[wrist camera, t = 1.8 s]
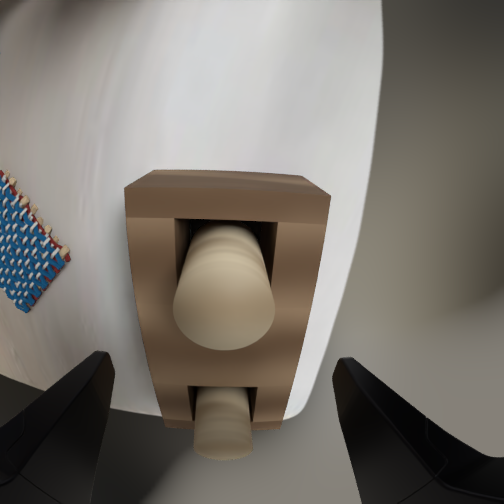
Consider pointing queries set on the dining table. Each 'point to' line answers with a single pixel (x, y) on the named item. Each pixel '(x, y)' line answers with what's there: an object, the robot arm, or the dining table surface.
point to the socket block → (277, 267)
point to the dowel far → (222, 423)
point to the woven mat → (25, 248)
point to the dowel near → (224, 288)
